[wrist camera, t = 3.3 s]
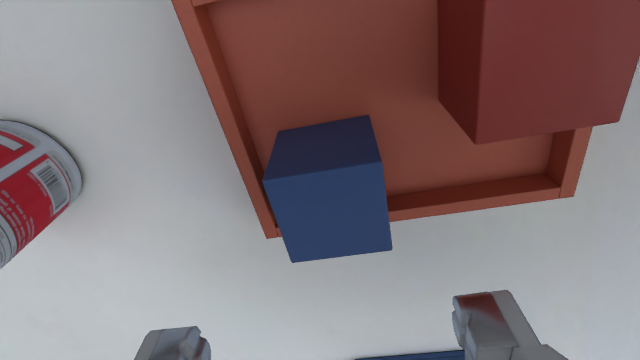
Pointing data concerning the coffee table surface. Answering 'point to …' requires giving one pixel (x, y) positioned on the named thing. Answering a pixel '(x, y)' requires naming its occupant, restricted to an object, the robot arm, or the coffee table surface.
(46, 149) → the pill bottle
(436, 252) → the coffee table surface
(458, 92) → the red block
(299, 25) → the red tray
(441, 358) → the blue tray
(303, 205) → the blue block
